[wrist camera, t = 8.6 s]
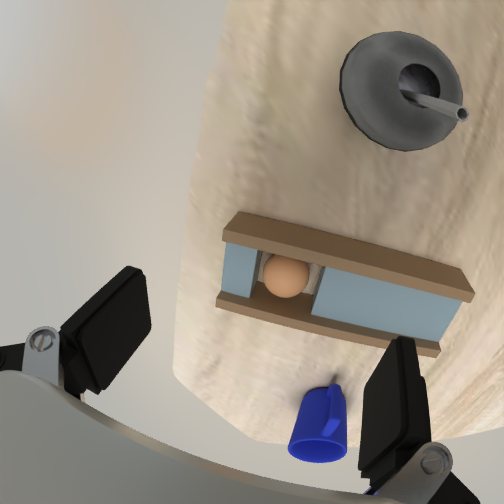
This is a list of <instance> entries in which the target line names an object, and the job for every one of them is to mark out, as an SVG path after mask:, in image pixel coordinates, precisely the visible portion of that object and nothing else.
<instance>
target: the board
mask: <svg viewBox="0 0 504 504" xmlns="http://www.w3.org/2000/svg"><path fill="white" fill-rule="evenodd" d="M222 241H225V242H226V249H225V258H224V267H223V276H222V286H221V291H220V293H219V295H218V296H217V298H216V307H218V308H221V309H225V310H228V311H231V312H235V313H238V314H242V315H246V316H249V317H253V318H257V319H260V320H264V321H268V322H271V323H275V324H279V325H283V326H287V327H291V328H295V329H299V330H303V331H307V332H311V333H315V334H319V335H324V336H328V337H332V338H337V339H341V340H346V341H350V342H355V343H359V344H364V345H369V346H374V347H379V348H384V349H387V348H388V346H389V344H390V342H391V340H392V339H397V337H398V336H405V337H410V338H414V340H415V344H416V349H417V355H421V356H427V357H433V358H437V356H438V355H439V353H440V352H441V349H440V345H439V340H440V339H441V337H442V336H443V334H444V333H445V331H446V329H447V328H448V326H449V324H450V323H451V321H452V319H453V318H454V316H455V314H456V312H457V311H458V309H459V307H460V305H461V303H462V301H464V302H468V303H471V301H472V299H473V297H474V295H475V292H474V290H473V289H472V287H471V285H470V284H469V282H468V280H467V279H466V277H465V275H464V274H463V272H462V271H461V269H458V268H455V267H452V266H448V265H445V264H441V263H438V262H435V261H431V260H428V259H424V258H421V257H417V256H414V255H410V254H406V253H403V252H399V251H396V250H392V249H388V248H385V247H381V246H377V245H374V244H370V243H366V242H362V241H359V240H355V239H351V238H347V237H343V236H339V235H335V234H331V233H327V232H323V231H319V230H315V229H311V228H307V227H303V226H299V225H295V224H291V223H287V222H282V221H278V220H274V219H270V218H265V217H261V216H257V215H252V214H248V213H244V212H238V213H237V214H236V215H235V216H234V218H233V219H232V220H231V221H230V222H229V223H228V224H227V226H226V227H225V228H224V229H223V236H222ZM262 251H265V252H269V253H273V254H277V255H281V256H285V257H289V258H293V259H297V260H301V261H305V262H309V263H313V264H317V265H321V266H322V270H321V273H320V276H319V280H318V283H317V286H316V289H315V293H314V296H313V295H309V294H305V293H301V292H300V293H299V294H298V295H296V296H293V297H288V298H283V297H279V296H276V295H274V294H273V293H271V292H270V291H269V290H268V289H267V287H266V286H265V284H264V283H262V282H258V281H257V278H258V272H259V267H260V261H261V256H262Z"/></svg>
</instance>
